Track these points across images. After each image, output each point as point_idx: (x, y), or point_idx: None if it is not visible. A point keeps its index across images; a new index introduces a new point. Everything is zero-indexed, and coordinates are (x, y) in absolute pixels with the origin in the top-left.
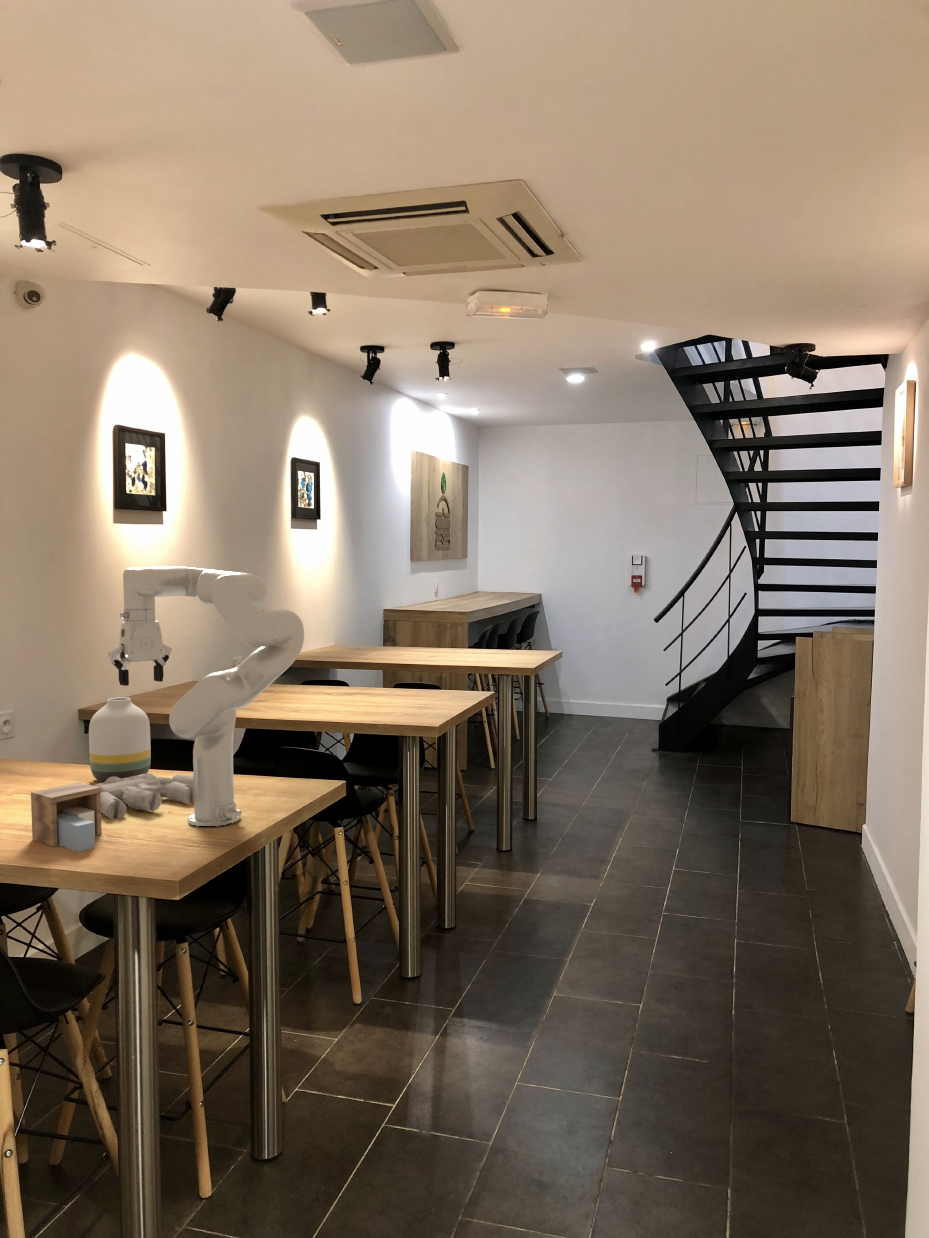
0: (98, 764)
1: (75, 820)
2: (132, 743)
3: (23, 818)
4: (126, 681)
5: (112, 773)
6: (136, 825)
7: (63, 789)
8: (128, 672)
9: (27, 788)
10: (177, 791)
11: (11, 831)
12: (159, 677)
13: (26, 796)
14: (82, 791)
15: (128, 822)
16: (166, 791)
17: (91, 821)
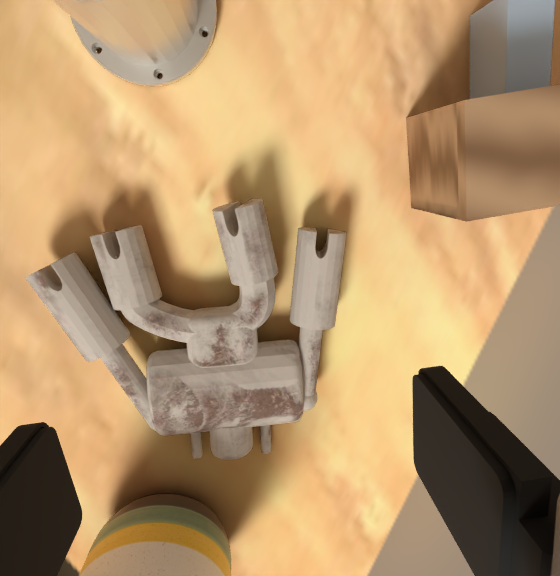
0: (225, 551)
1: (527, 50)
2: (139, 568)
3: (451, 361)
4: (459, 383)
5: (203, 512)
6: (316, 129)
7: (543, 159)
8: (487, 456)
9: (341, 565)
10: (144, 257)
11: (512, 283)
12: (36, 462)
13: (370, 512)
14: (523, 90)
15: (317, 170)
16: (160, 296)
17: (508, 3)
